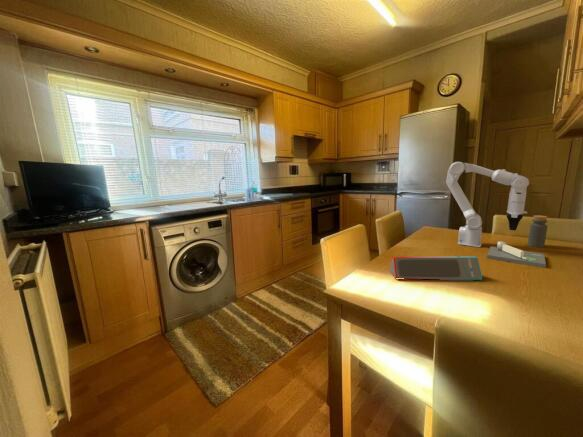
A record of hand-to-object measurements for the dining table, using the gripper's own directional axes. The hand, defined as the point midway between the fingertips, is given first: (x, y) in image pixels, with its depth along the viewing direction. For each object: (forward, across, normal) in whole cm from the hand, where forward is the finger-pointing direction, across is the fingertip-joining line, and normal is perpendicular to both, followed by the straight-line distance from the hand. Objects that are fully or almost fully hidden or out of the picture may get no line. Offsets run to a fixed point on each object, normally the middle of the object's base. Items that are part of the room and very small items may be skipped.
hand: (512, 230), depth 115 cm
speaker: (+10, -54, +20) cm, 59 cm away
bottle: (+10, +12, -9) cm, 18 cm away
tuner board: (+9, -14, -2) cm, 17 cm away
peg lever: (+7, -14, -1) cm, 16 cm away
